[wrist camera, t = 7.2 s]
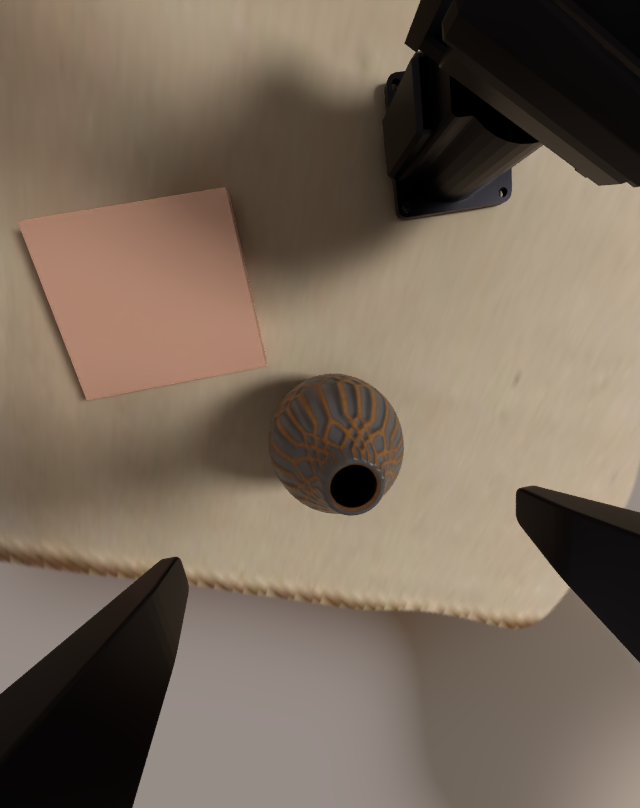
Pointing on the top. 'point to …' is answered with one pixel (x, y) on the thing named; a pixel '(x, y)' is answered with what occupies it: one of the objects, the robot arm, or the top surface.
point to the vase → (336, 444)
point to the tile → (148, 291)
